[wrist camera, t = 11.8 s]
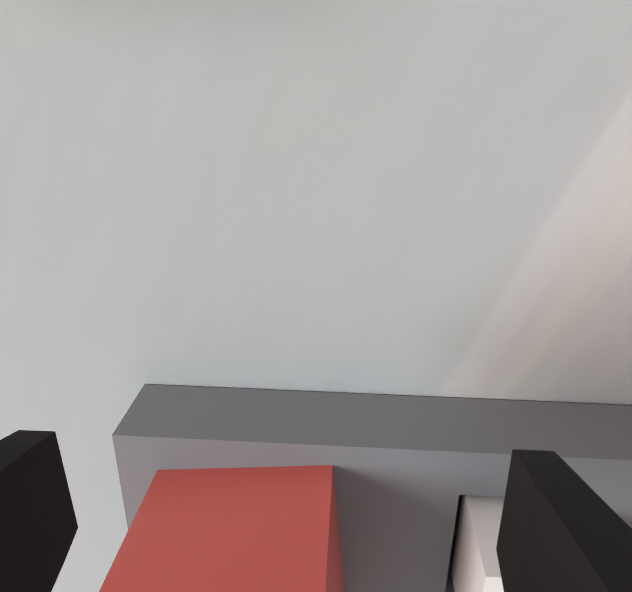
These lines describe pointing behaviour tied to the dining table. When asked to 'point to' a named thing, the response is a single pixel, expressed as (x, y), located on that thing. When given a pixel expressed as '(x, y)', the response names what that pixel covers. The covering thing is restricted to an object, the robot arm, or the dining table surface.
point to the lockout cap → (233, 533)
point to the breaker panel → (376, 460)
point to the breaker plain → (477, 545)
